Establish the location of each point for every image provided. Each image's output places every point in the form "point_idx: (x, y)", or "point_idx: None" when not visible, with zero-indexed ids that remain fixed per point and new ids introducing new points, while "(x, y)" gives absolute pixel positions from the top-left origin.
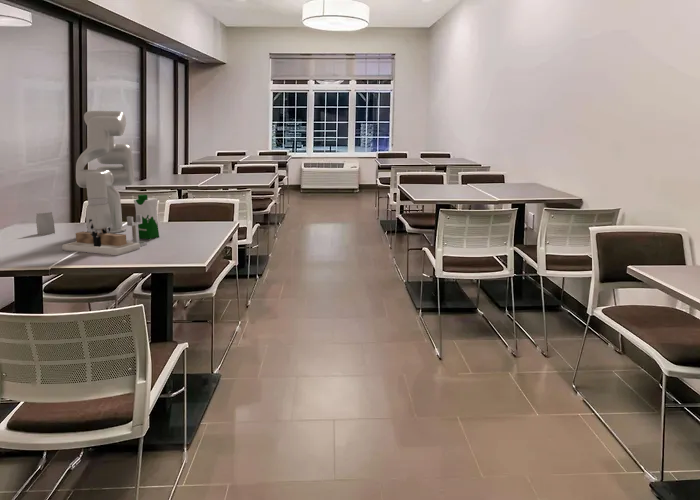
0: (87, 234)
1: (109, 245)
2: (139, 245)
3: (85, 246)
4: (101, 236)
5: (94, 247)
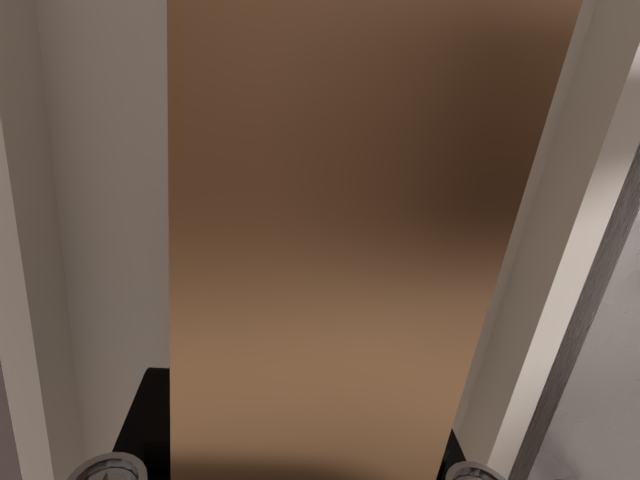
0: (173, 287)
1: (487, 327)
2: None
3: (3, 282)
4: None
5: (16, 445)
